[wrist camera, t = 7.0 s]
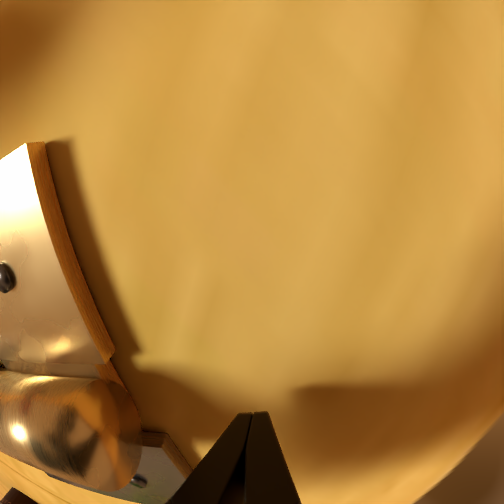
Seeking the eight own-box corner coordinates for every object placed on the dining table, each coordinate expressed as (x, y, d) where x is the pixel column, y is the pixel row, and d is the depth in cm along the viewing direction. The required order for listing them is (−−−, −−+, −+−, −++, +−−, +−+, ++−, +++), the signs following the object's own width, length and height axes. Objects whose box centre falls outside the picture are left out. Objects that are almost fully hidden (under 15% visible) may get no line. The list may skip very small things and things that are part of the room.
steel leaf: (120, 352, 9) (61, 440, 5) (217, 501, 13) (205, 561, 9) (-43, 347, 11) (-79, 382, 8) (45, 466, 15) (24, 501, 11)
